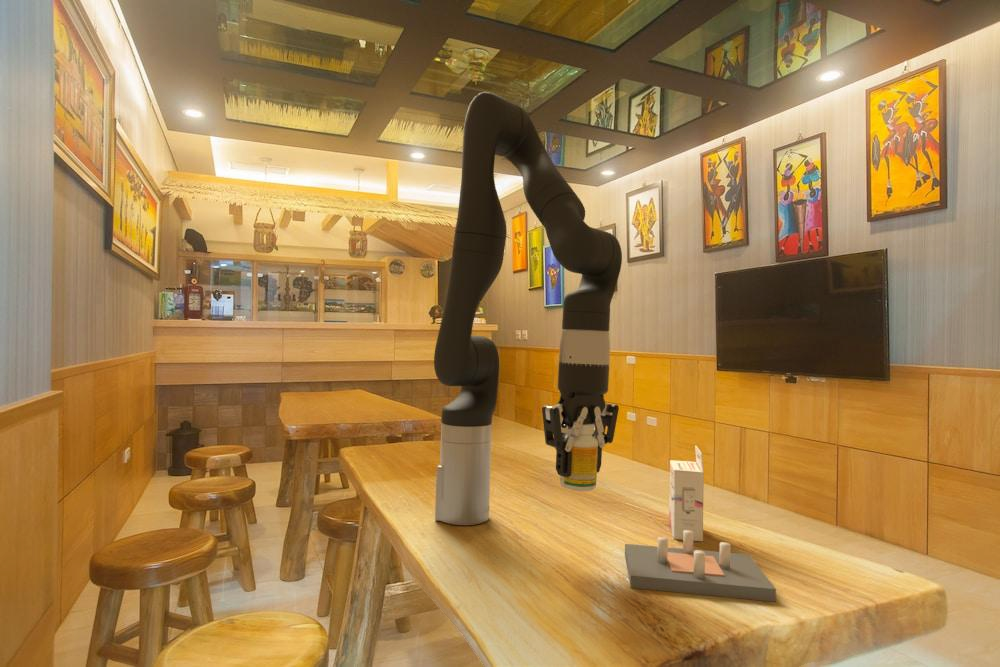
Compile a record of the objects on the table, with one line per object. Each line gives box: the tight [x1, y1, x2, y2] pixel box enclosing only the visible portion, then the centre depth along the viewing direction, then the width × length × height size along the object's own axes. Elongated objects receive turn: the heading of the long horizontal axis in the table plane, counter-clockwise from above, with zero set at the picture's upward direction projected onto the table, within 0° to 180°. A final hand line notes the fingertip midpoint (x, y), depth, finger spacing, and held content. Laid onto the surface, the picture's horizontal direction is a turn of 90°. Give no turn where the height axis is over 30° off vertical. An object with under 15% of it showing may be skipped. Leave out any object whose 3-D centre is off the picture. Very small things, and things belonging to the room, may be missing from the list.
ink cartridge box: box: [668, 445, 705, 542], centre depth 96 cm, size 9×5×15 cm, turn 168°
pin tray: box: [624, 530, 777, 603], centre depth 77 cm, size 18×12×5 cm, turn 81°
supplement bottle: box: [559, 423, 598, 492], centre depth 82 cm, size 5×5×10 cm
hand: (578, 473), depth 82 cm, fingers closed on supplement bottle, 5 cm apart
